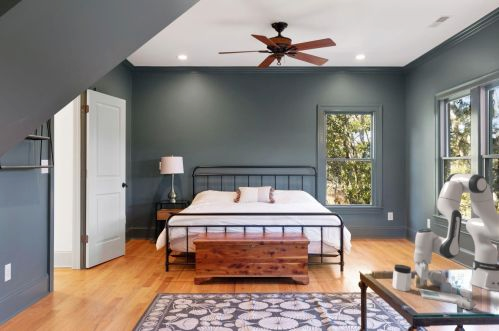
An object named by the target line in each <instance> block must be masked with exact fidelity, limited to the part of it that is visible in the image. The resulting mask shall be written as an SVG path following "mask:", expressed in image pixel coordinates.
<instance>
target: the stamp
mask: <svg viewBox="0 0 499 331" xmlns="http://www.w3.org/2000/svg"><path fill="white" fill-rule="evenodd" d="M459 292H460V293H459V294H460V295H461V296H463V297H462V298H460V299H457V300H456V303H455V304H456V305H457V306H458V308H461V309H463V308H464V309H463V310H466V309H468V310H467V311H470V310H472V308H473V309H474V308H475V307H476V306H477V304H478V303H477V302H476V301H474V300H471V299H470V297H473V296H474V295H473V293H474V292H473V291H471V290H467V289H464V288H463V289H460V290H459ZM469 309H470V310H469Z"/></svg>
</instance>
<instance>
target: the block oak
mask: <svg viewBox="0 0 499 331" xmlns="http://www.w3.org/2000/svg"><path fill="white" fill-rule="evenodd" d="M413 285H414V287H415V288H417V289H424V290H428V289H427V288H428V286H427V285H428V280H425V281H424V285H423V286H422V285H420V277H419V275H417V274H415V275H414V281H413Z"/></svg>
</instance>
